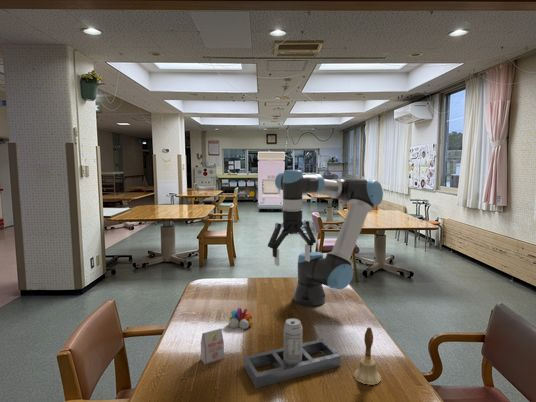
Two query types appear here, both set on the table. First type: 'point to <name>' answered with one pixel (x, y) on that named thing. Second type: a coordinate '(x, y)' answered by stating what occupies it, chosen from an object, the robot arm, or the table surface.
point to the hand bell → (367, 363)
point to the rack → (291, 370)
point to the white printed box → (212, 346)
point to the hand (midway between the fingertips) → (292, 262)
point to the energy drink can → (292, 341)
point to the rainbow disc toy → (240, 319)
